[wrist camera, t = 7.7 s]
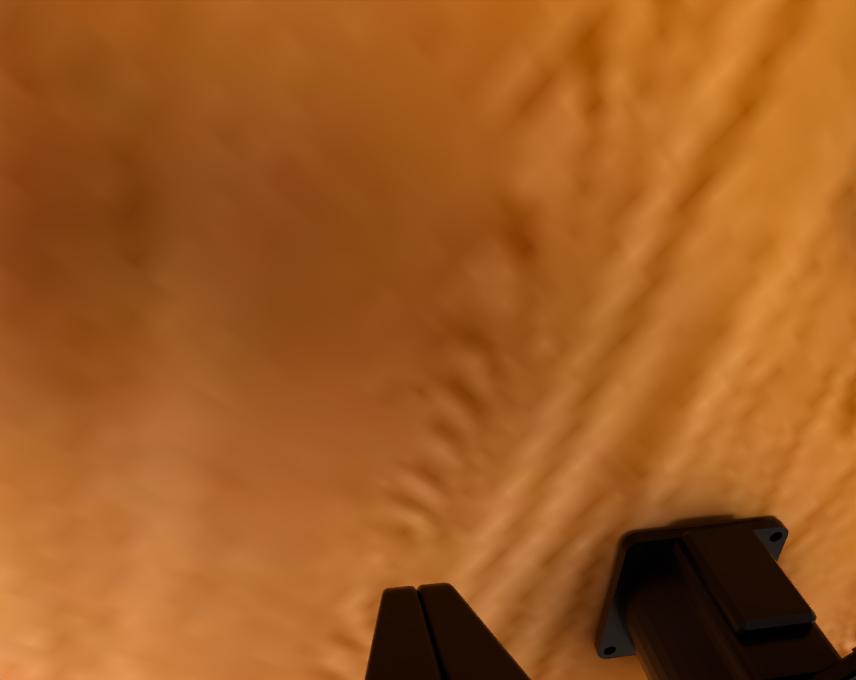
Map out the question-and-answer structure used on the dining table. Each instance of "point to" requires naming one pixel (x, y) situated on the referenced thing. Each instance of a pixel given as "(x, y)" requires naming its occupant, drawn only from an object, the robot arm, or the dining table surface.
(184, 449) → the dining table surface
